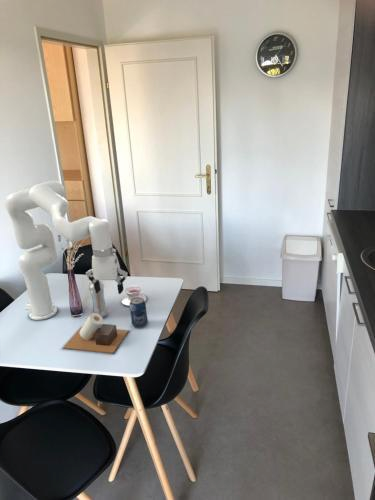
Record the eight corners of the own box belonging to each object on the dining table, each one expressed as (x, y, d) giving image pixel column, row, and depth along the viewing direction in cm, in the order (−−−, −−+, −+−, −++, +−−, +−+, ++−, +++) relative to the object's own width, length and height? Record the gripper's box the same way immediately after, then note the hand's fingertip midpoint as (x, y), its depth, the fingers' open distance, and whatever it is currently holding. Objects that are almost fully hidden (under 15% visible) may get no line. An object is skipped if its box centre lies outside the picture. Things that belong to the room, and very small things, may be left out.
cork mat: (63, 348, 170) (63, 347, 170) (82, 327, 184) (81, 326, 184) (113, 353, 164) (113, 352, 164) (128, 331, 179) (128, 330, 179)
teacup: (144, 306, 199) (143, 294, 197) (119, 307, 200) (118, 295, 197) (147, 294, 210) (146, 283, 208) (123, 295, 211) (122, 284, 209)
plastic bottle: (105, 319, 190) (99, 279, 182) (91, 319, 191) (84, 279, 184) (110, 312, 195) (104, 273, 188) (97, 311, 197) (90, 273, 190)
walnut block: (95, 344, 170) (94, 334, 168) (104, 334, 177) (102, 323, 176) (109, 346, 169) (107, 335, 167) (117, 335, 176) (115, 324, 174)
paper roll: (78, 341, 173) (73, 316, 169) (85, 333, 179) (81, 309, 174) (101, 343, 171) (98, 319, 166) (108, 335, 176) (104, 311, 172)
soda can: (136, 330, 179) (133, 306, 175) (129, 324, 184) (126, 299, 180) (150, 325, 182) (148, 301, 178) (143, 319, 188) (140, 295, 184)
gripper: (127, 248, 162) (133, 288, 168) (86, 248, 166) (93, 287, 172) (120, 255, 155) (126, 297, 161) (78, 255, 159) (85, 295, 165)
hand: (109, 291), depth 166 cm, fingers open, 9 cm apart
